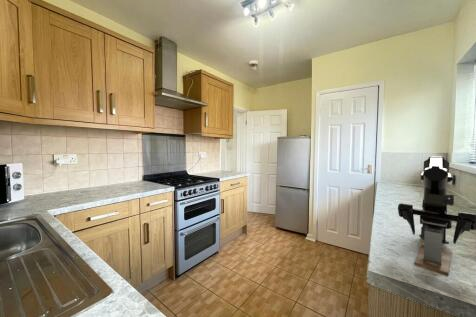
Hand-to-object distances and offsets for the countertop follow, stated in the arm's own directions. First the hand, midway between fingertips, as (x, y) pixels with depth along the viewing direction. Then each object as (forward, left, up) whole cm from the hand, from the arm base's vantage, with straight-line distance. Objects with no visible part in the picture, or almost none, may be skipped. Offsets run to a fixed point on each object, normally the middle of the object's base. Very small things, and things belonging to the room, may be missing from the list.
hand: (433, 238), depth 63 cm
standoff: (-1, -1, -8) cm, 8 cm away
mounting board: (-3, -4, -9) cm, 10 cm away
